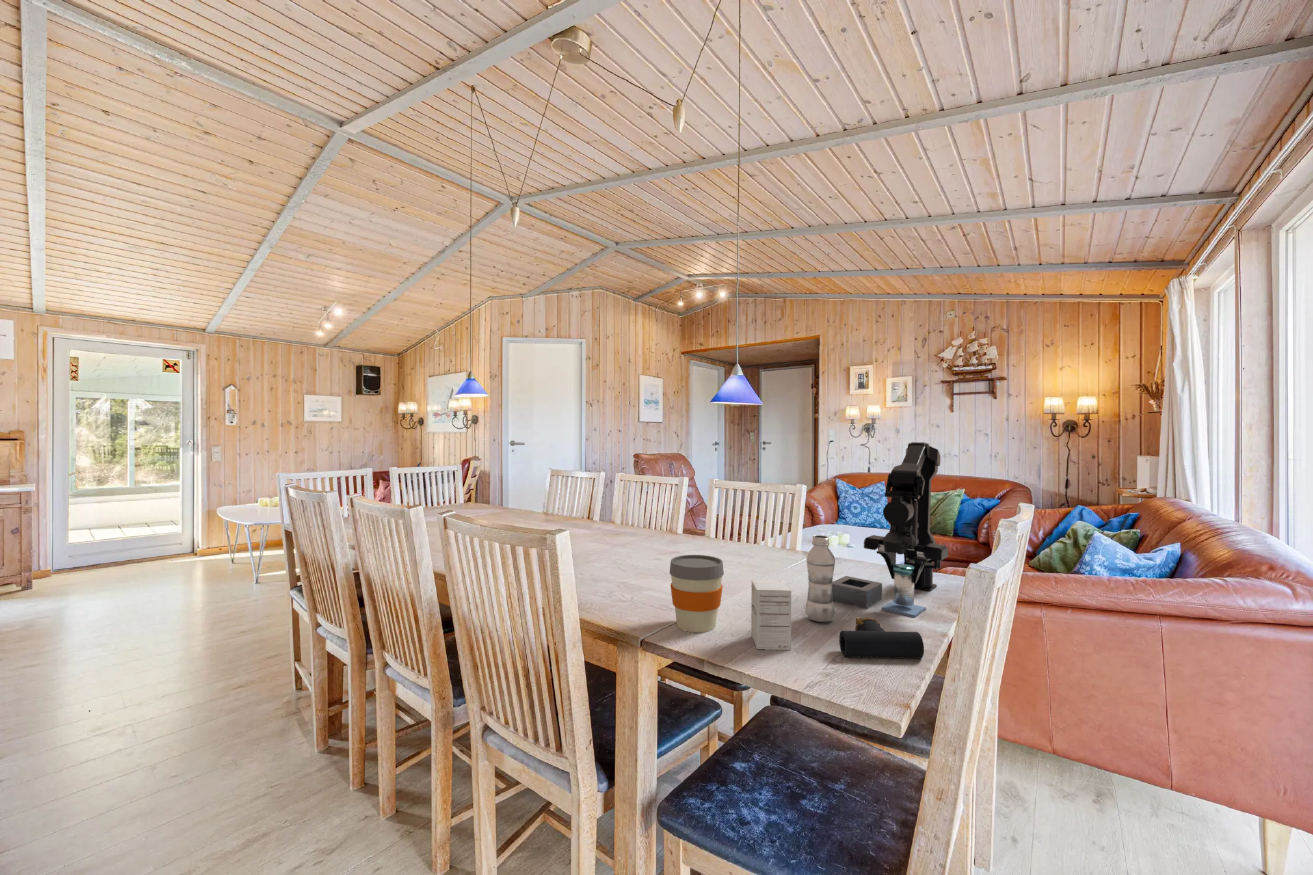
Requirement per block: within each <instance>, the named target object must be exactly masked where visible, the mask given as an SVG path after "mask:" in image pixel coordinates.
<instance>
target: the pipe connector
mask: <svg viewBox="0 0 1313 875" xmlns="http://www.w3.org/2000/svg"><path fill="white" fill-rule="evenodd" d="M838 641H839V643H838V644H839V649H840V652H841V654H842V655H843V657H845V658H877V659H878V658H883V659H886V658H887V659H888V658H889V659H922V658H923V657H924V653H925V646H924V645H925V644H924V642H923V641H924V640H923V637H922V635H921V634H920V633H919V632H918V631H889V630H888V631H886V630H885V629H883V627H882V626H881V622H879V621H878V620H877V619H876V618H875V617H864V618H863V617H856V618H855V628H854V630H840V632H839V638H838Z"/></svg>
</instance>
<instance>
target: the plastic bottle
mask: <svg viewBox="0 0 1313 875" xmlns="http://www.w3.org/2000/svg"><path fill="white" fill-rule="evenodd" d="M811 544H812V545H813V546H812V547H811V549H810V550H809V552H808V553H807V555H806V566H807V576H808V577H807V578H808V579H807V580H808V582H807V583H808V588H807V598H806V601H805V608H804V609H805V614H806V616H807V618H808V619H809V620H811V621H814V622H818V623H828V622H831V621H832V620H833V619H834V616H835V605H834V604H835V602H834V601H833V596H832V582H833V581H834V580H833V579H834V571H835V565H836V558H835V555H834V553H833V552H832V551H831V549H830V548H829V546H830V538H829V536H826V535H820V534H819V535H816V534H815V535H812V543H811Z"/></svg>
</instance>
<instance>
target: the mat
mask: <svg viewBox="0 0 1313 875" xmlns="http://www.w3.org/2000/svg"><path fill="white" fill-rule="evenodd" d="M926 610H927V607H925V606H922V605H918V604H914V605H912V606H903V605H898V604H896V603H894V599H893V600H892V601H890V602H888V603H886V604H884V605H883V606H882V607H881V611H883V612H884V611H885V612H889V613H893V614H894V613H895V614H897V615H902V616H905V617H910V618H914V619H915V618H917V617H918V616H919V615H921V614H922V613H923V612H925V611H926Z"/></svg>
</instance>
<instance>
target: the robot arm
mask: <svg viewBox="0 0 1313 875" xmlns="http://www.w3.org/2000/svg"><path fill="white" fill-rule="evenodd" d="M939 467H941V454H940V451H939V449H937V448H935V447H933V446H931V445H930V444H929V443H927V442H923V441H921V442H920V441H919V442H915V441H912V442H908V445H907V448H906V449H905V456H904V458H903V460H902V462H901V464H899V465H895V466H893V468H892V470H891V471H890V473H888V476H887V481H886V486H885V491H884V497H885V498H890V501H889V502H888V503H886V504H885V506H884V508H883V511H882V513H883V517H884V520H886V522H888V523H889V524H890V526H889V531H888V532H887V533H886V534H885V536H883V535H877V534H876V535H874V534H873V535H872V534H871V535H870V536H867V537H865V538H864V541H863V549H865V550H870V551H871V550H873V551H875V550H877V551H876V554H878V555H880V556H881V557H882V558H883V559H884V562H885V563H886V564H885V565H886V566H887V569H888V572H889V574H890V577H891V580H894V571H893V565H895V564H897V555H903V560H904V564H906V565H911V566H914V575H913V583H914V589H916V590H917V589H918V590H922V591H928V592H929V591H930V592H931V591H932V590H933V589H936V588H937V587H938V585H937V584H935V583H933V582H934V580H933V579H934V570H937V569H941V567H942V565H941V564H942V562H941V561H943V560H944V559H946V558H948V557H949V550H948V549H949V548H948V547H947V546H946V545H945V544H938V543H936V542H937V541H936V539H935V538H934V536H933V535H932V533H931V501H932V497H931V496H932V480H933V479H934V477H935V476H936V475H937V473H938V470H939Z"/></svg>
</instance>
